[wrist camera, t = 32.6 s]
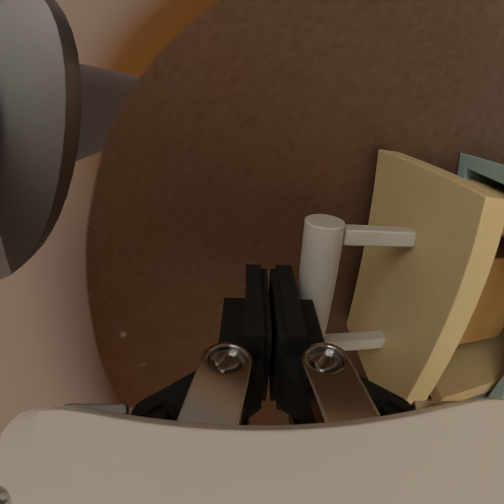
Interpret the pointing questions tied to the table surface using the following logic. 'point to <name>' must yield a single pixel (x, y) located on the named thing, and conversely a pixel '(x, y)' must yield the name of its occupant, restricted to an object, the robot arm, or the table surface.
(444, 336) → the drawer
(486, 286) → the block
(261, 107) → the table surface
